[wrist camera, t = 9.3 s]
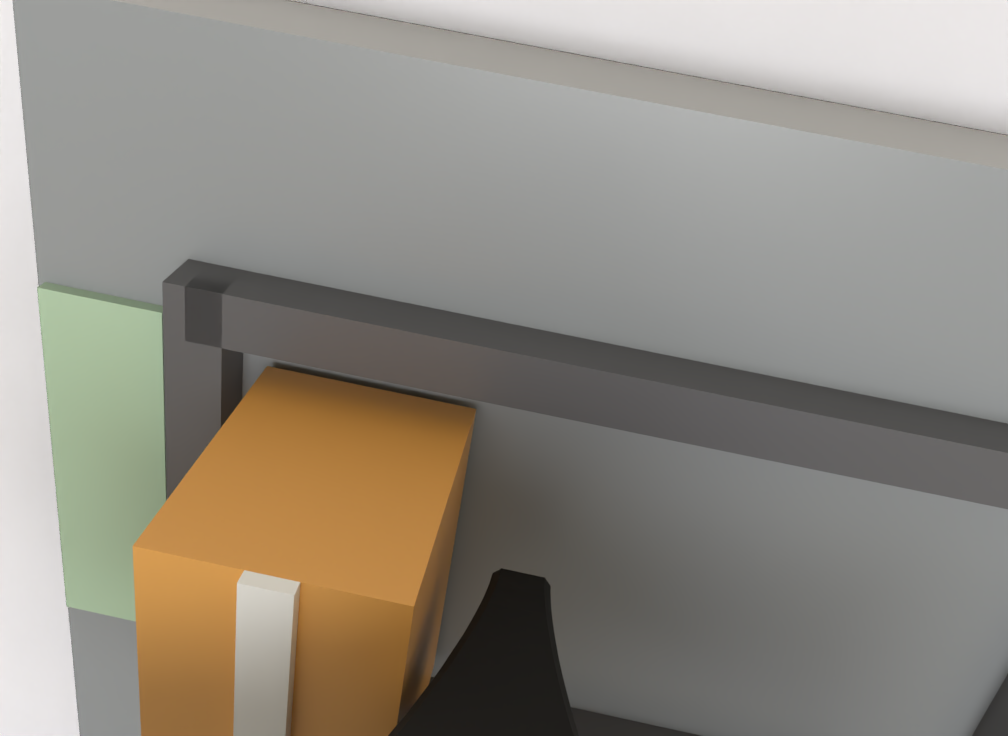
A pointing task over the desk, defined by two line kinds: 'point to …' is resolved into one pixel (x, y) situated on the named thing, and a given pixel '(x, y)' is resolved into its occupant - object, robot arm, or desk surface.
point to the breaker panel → (547, 344)
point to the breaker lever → (301, 564)
